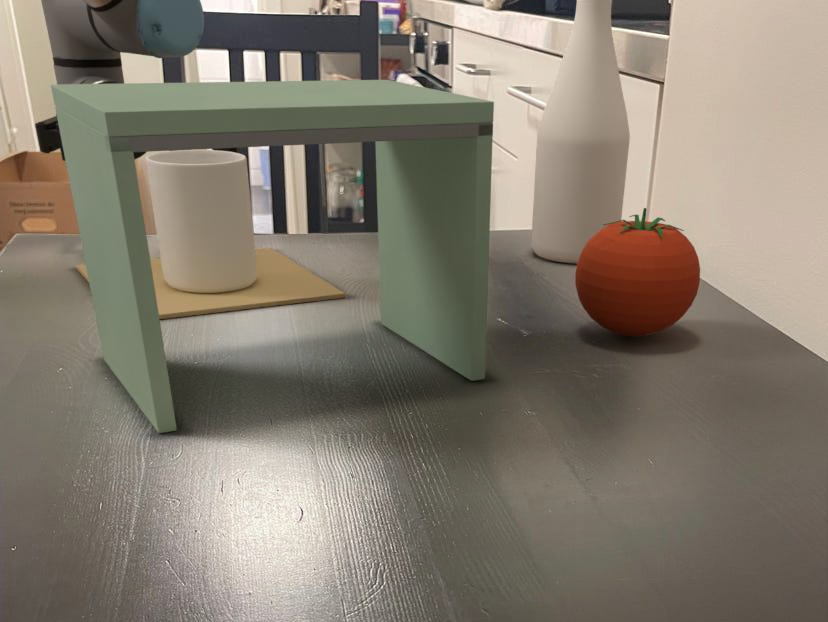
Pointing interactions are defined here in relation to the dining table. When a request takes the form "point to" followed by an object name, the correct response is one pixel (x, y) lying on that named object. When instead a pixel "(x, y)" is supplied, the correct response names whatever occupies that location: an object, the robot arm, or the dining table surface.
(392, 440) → the dining table surface
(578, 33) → the wine bottle
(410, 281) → the shelf compartment
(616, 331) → the tomato
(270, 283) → the mat
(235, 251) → the mug
